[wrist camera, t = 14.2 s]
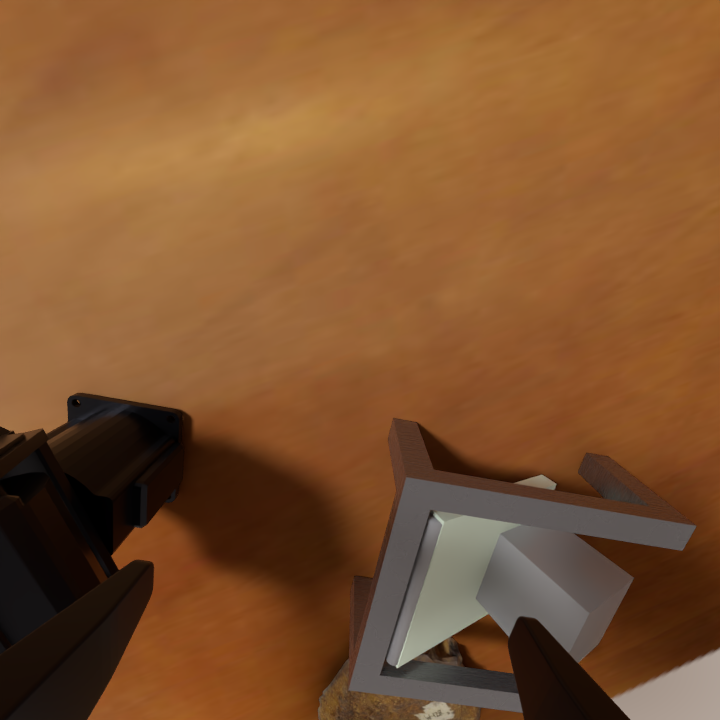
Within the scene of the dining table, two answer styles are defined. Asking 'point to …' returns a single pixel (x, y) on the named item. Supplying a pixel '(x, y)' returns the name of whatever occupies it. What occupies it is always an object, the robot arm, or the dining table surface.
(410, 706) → the decorative rock
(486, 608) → the gray cube
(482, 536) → the trapdoor
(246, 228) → the dining table surface
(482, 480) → the frame
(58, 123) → the dining table surface
